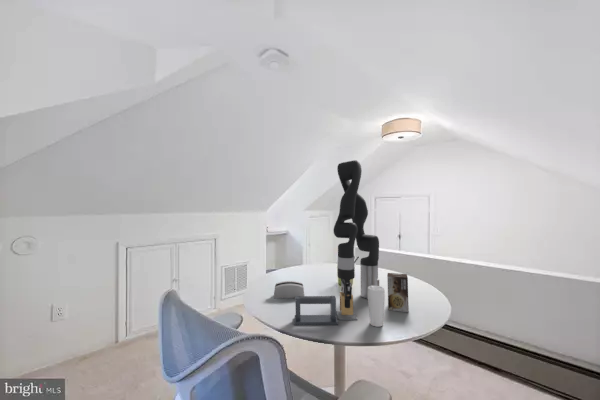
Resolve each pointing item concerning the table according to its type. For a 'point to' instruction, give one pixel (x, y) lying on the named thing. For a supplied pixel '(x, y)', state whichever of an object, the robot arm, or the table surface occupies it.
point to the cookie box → (398, 292)
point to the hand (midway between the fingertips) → (346, 305)
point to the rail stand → (316, 319)
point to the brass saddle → (342, 305)
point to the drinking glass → (376, 305)
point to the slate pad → (346, 316)
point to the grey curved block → (288, 289)
